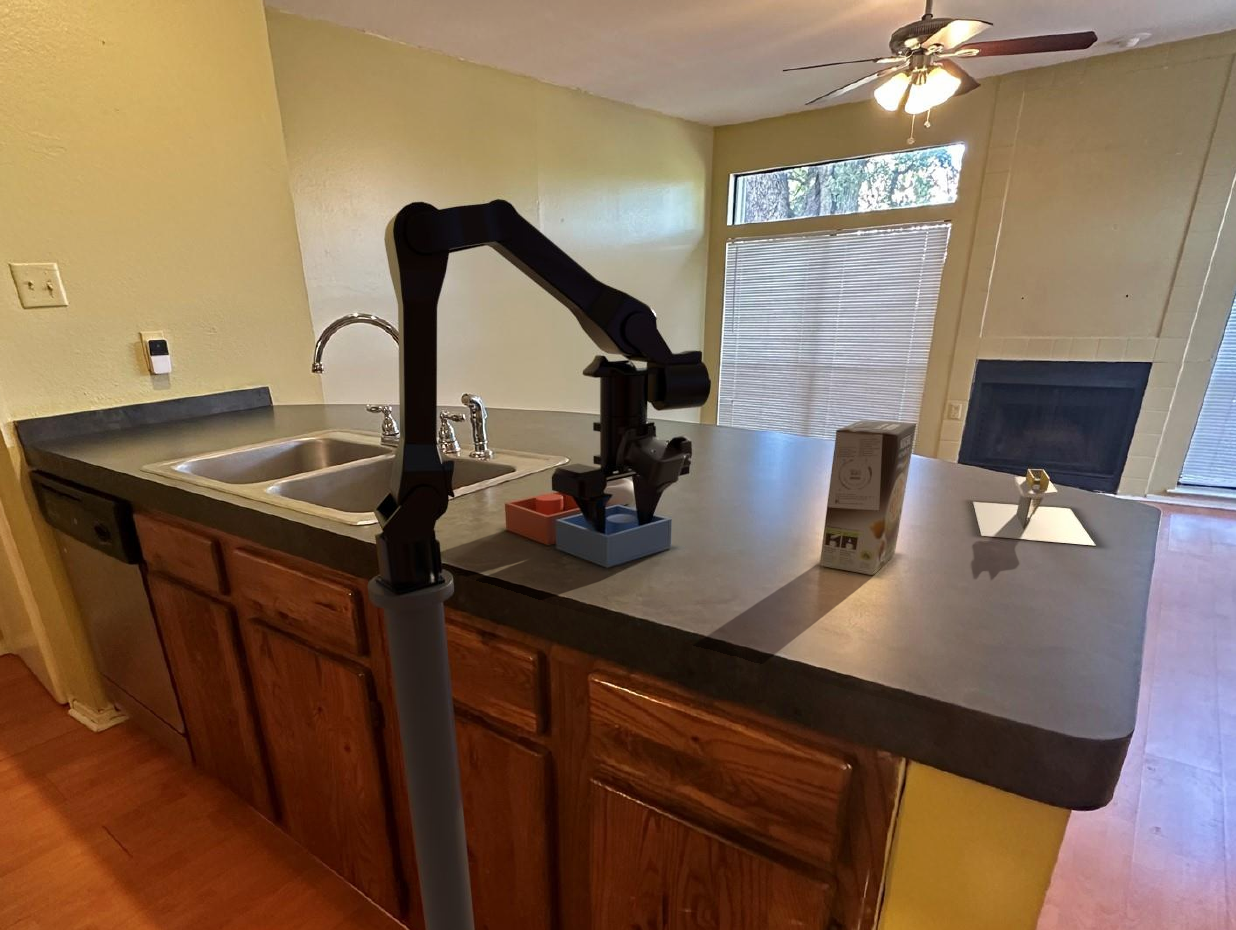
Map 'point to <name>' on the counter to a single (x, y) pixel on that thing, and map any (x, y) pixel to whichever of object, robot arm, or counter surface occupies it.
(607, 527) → the blue handled mug
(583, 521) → the blue bin
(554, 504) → the red cylinder with peg
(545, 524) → the red bin
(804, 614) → the counter surface
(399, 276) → the robot arm
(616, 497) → the donut
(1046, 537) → the platform
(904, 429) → the coffee box
